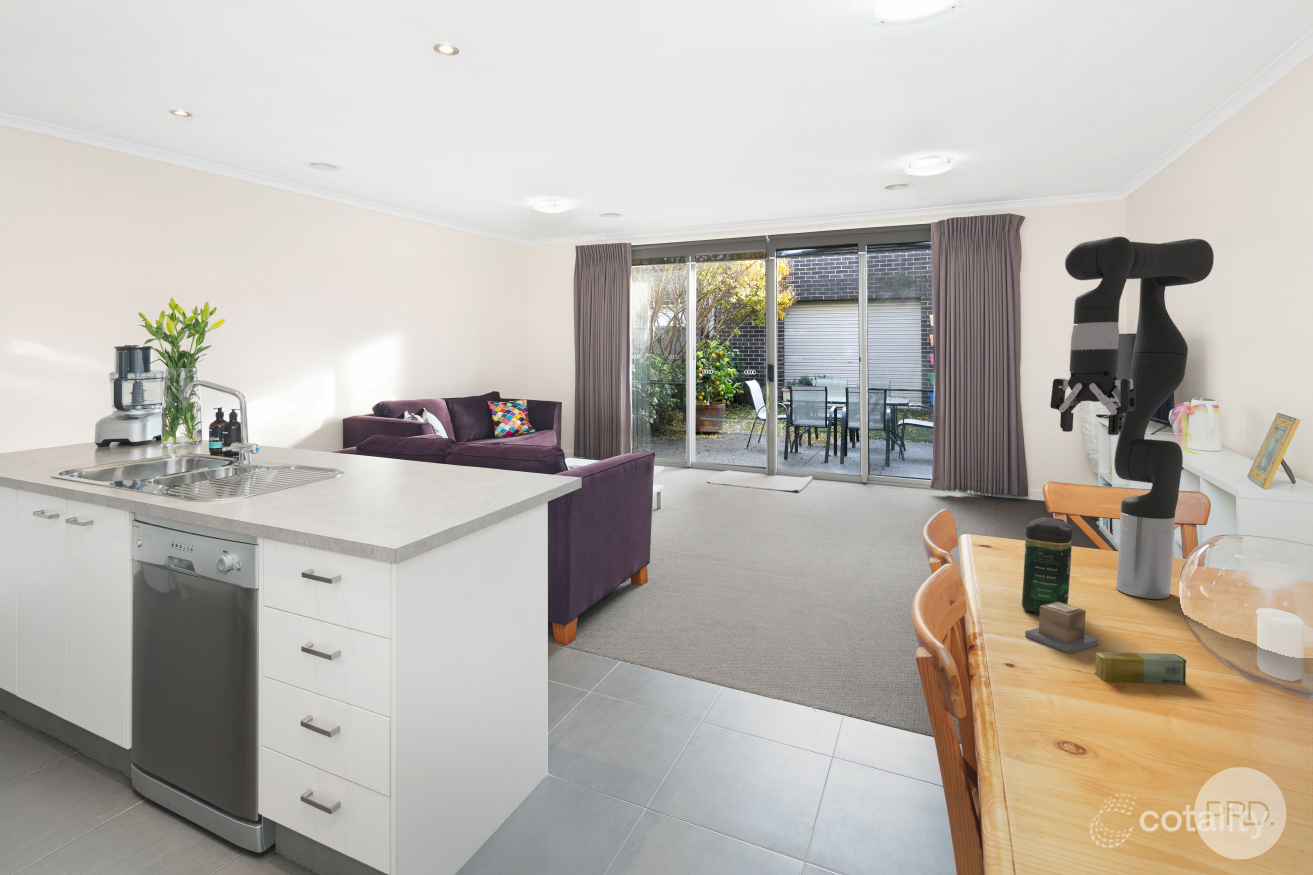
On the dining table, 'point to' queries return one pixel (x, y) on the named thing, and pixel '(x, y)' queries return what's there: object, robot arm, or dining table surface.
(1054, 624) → the cube
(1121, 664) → the medication box
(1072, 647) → the pad
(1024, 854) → the dining table surface
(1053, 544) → the coffee jar
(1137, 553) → the robot arm
